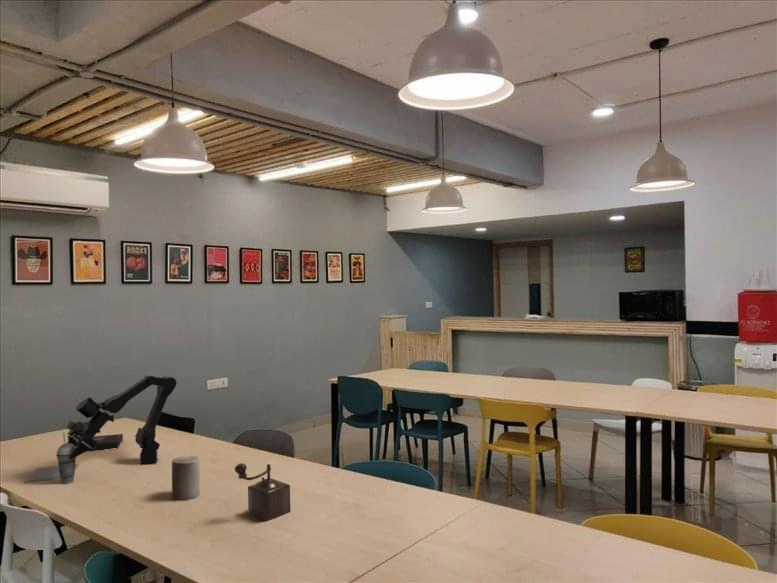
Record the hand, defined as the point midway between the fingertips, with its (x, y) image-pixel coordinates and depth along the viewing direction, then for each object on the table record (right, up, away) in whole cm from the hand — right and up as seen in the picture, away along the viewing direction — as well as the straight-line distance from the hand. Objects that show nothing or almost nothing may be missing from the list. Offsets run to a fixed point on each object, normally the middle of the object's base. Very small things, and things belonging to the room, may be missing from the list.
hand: (66, 456), depth 219 cm
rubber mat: (-13, -11, +12) cm, 20 cm away
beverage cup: (0, -10, 0) cm, 11 cm away
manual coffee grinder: (+89, -8, -38) cm, 97 cm away
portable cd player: (-14, -12, +54) cm, 57 cm away
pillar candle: (+56, -9, -19) cm, 60 cm away
